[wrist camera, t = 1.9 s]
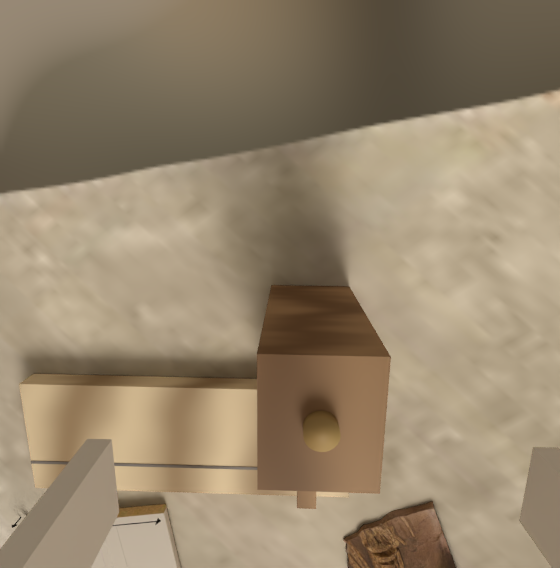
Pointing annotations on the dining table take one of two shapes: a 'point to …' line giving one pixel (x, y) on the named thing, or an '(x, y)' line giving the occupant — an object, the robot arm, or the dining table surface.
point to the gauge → (320, 394)
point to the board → (149, 430)
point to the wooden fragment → (401, 541)
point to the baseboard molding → (139, 540)
